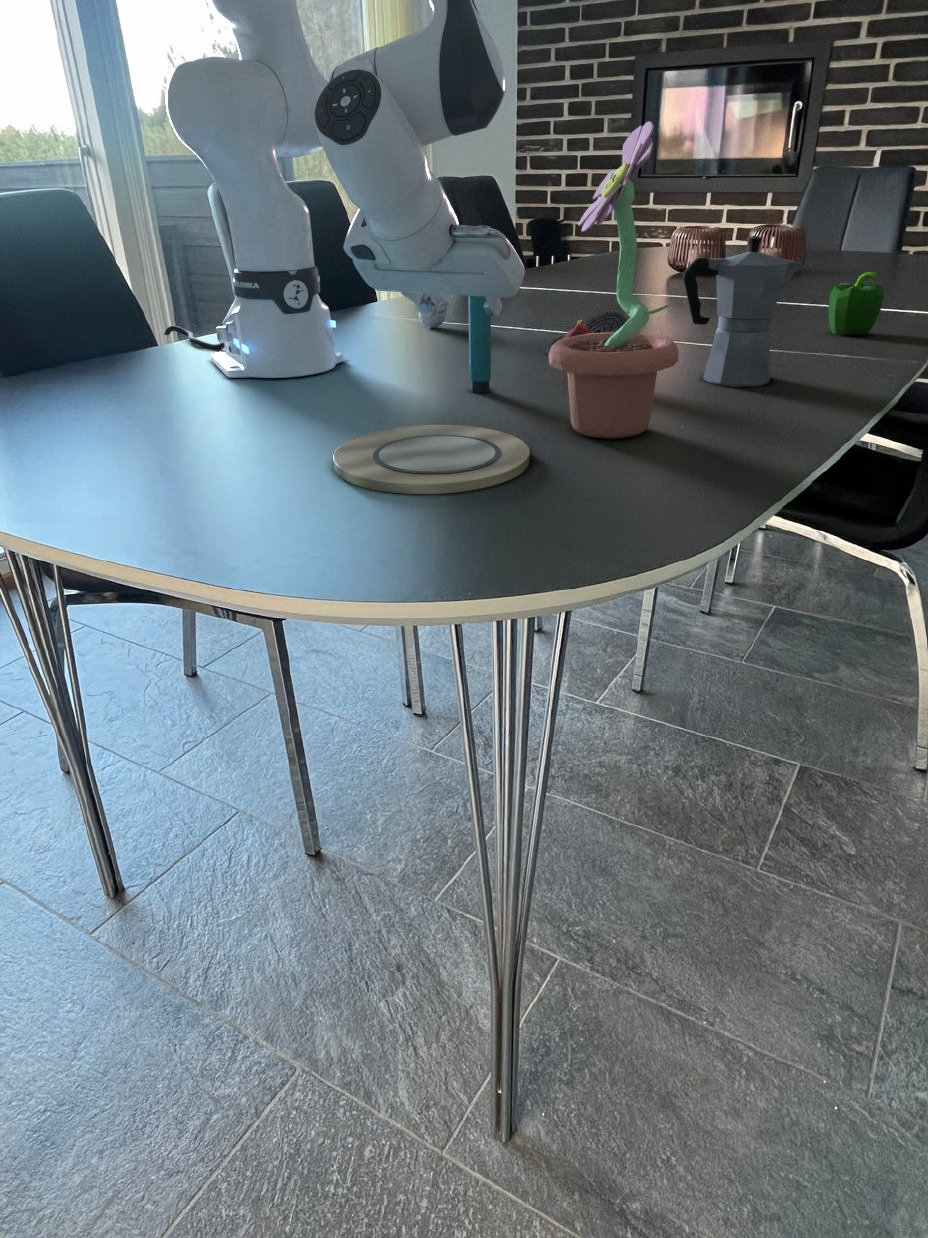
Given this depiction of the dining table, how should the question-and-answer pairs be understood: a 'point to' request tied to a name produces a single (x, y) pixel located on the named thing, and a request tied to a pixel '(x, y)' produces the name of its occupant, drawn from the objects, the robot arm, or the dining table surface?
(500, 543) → the dining table surface
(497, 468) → the round wooden trivet
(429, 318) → the crumpled paper ball
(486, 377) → the marker
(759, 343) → the coffeepot
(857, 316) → the bell pepper
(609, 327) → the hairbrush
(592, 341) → the decorative flower
